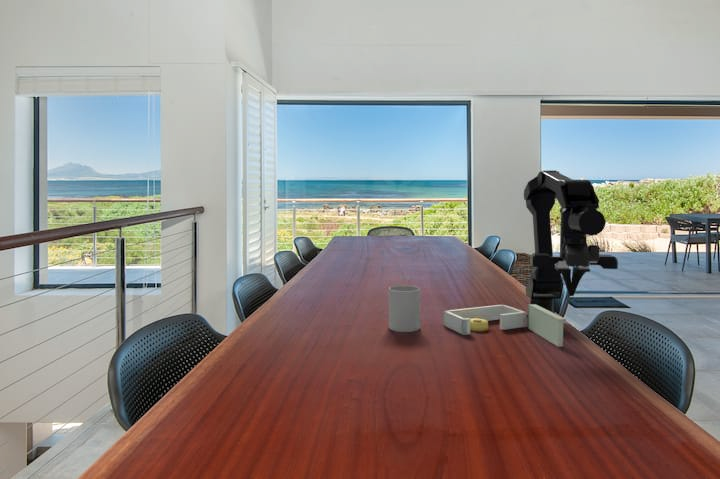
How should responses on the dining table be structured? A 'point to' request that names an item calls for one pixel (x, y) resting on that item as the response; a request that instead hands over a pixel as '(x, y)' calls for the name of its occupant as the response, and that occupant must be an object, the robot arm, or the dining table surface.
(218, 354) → the dining table surface
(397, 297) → the mug
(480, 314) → the white open pen
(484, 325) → the cord coil
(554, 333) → the cover
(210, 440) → the dining table surface
